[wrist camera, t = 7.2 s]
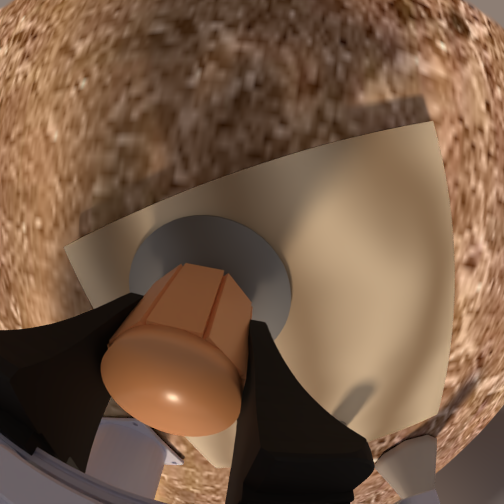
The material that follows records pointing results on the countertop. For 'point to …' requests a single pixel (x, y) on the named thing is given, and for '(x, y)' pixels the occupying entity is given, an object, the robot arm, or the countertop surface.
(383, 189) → the board
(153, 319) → the orange domed tapered piece
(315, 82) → the countertop surface
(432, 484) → the flask
